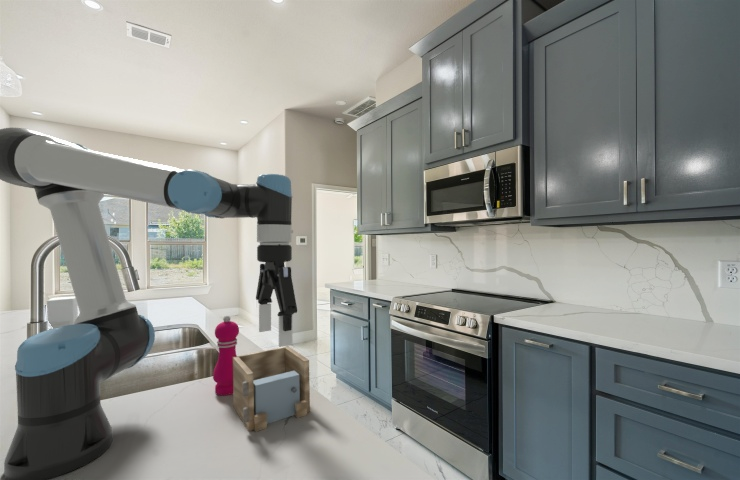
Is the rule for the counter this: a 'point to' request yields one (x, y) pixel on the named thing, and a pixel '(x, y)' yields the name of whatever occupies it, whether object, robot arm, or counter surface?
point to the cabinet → (263, 367)
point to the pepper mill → (225, 356)
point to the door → (277, 395)
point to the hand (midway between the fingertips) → (274, 337)
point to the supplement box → (62, 311)
